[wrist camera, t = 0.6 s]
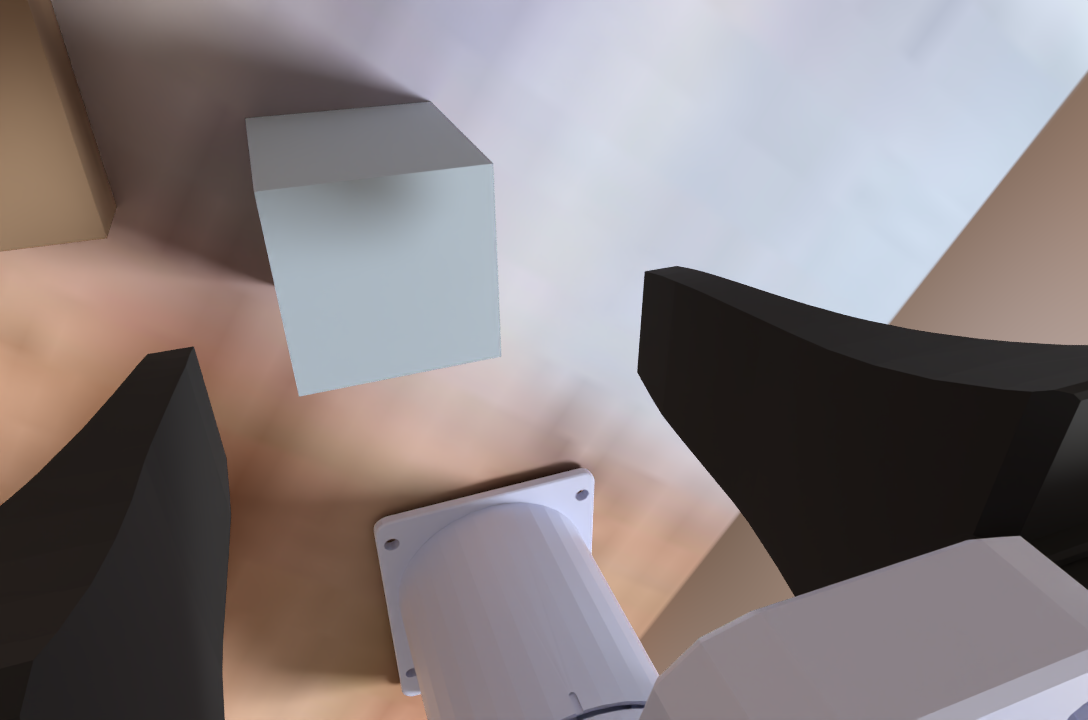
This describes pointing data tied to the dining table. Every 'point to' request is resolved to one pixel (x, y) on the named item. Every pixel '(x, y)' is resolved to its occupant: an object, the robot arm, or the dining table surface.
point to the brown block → (45, 138)
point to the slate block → (377, 241)
